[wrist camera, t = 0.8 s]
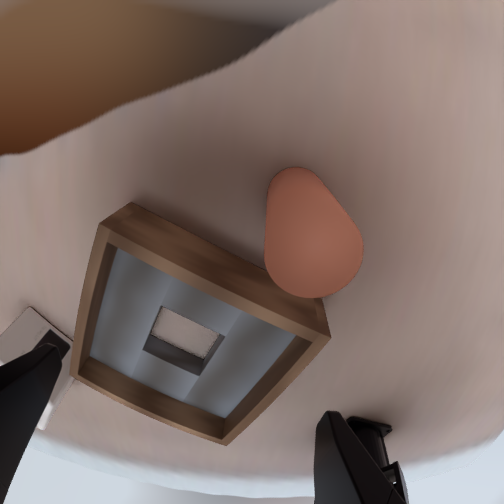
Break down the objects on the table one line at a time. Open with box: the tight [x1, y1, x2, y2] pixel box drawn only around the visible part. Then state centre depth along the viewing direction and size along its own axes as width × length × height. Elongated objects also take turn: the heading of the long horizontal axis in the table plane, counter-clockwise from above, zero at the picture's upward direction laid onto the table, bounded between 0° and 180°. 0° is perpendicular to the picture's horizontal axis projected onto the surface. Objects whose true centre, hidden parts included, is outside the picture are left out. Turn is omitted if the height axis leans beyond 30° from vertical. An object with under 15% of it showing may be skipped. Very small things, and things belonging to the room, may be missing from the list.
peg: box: [264, 167, 363, 298], centre depth 15 cm, size 4×4×9 cm
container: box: [0, 307, 74, 431], centre depth 21 cm, size 8×8×13 cm
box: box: [69, 202, 331, 446], centre depth 22 cm, size 15×15×4 cm
